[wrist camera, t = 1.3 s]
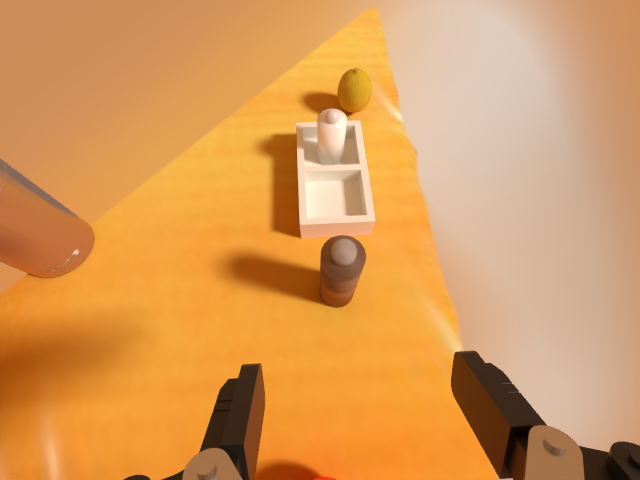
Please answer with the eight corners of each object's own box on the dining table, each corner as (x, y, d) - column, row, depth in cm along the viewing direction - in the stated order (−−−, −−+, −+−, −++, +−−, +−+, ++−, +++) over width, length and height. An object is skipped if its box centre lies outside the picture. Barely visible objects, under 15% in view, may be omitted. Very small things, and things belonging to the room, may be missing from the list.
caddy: (371, 234, 46) (375, 221, 42) (301, 238, 45) (299, 224, 42) (357, 138, 53) (360, 120, 50) (297, 141, 53) (296, 122, 49)
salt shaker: (311, 156, 50) (310, 111, 42) (329, 142, 51) (331, 96, 43) (330, 171, 49) (333, 127, 41) (348, 156, 50) (354, 111, 42)
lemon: (330, 109, 56) (331, 67, 49) (353, 95, 58) (358, 53, 51) (350, 127, 54) (355, 87, 47) (374, 113, 56) (382, 71, 49)
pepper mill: (312, 291, 42) (311, 250, 30) (335, 268, 43) (342, 221, 31) (337, 314, 41) (346, 281, 29) (360, 290, 42) (377, 249, 30)
